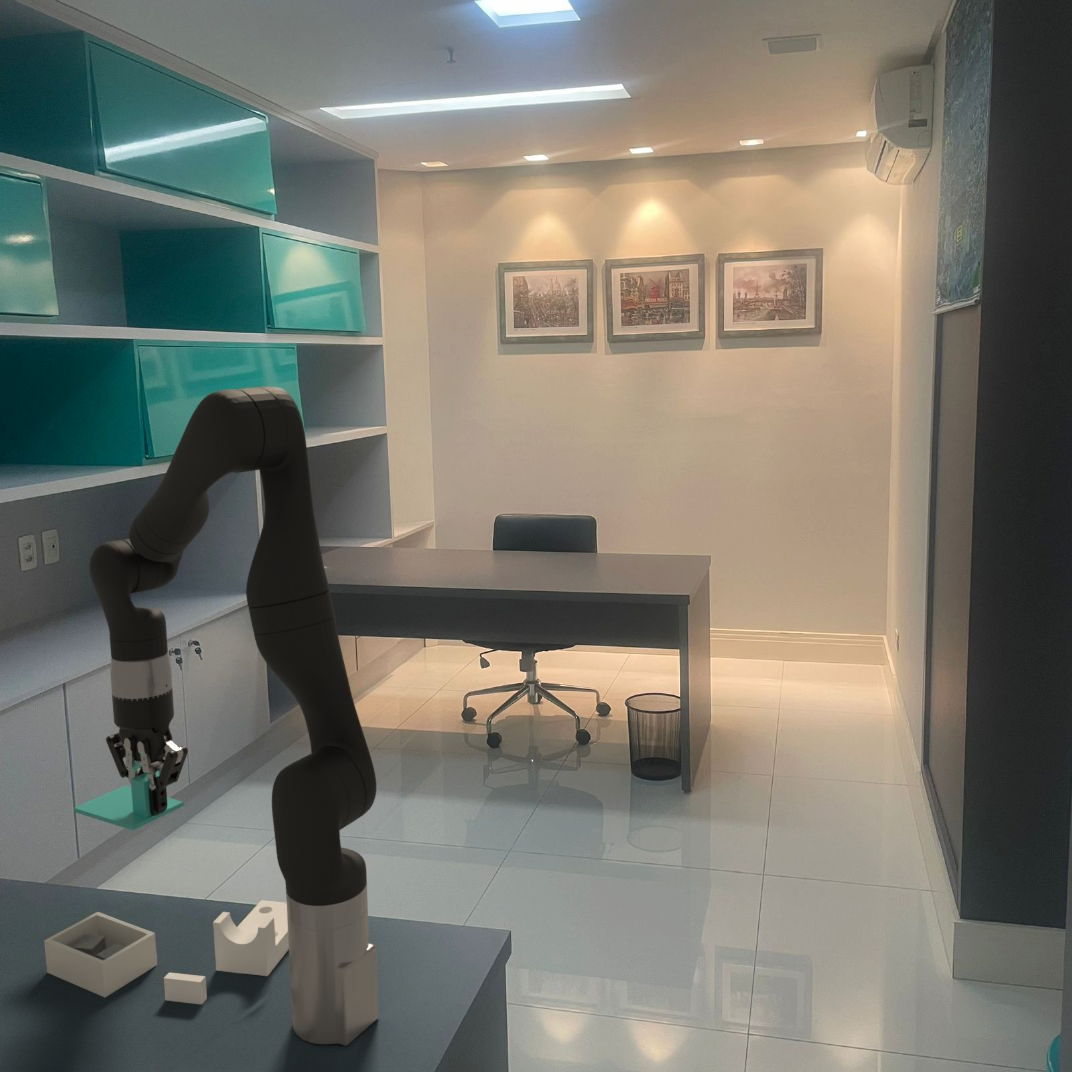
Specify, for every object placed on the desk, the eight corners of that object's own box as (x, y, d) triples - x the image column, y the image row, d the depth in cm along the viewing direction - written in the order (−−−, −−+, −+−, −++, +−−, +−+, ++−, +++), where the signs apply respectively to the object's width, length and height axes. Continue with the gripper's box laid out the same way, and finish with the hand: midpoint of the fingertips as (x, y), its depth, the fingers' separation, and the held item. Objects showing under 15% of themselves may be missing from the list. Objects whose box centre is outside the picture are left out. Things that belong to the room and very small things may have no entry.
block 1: (106, 957, 137) (105, 936, 137) (93, 970, 134) (91, 949, 134) (85, 955, 138) (83, 934, 137) (72, 968, 135) (70, 947, 134)
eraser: (170, 999, 130) (169, 972, 129) (207, 1003, 129) (205, 976, 128) (165, 1005, 128) (163, 977, 128) (202, 1009, 127) (200, 982, 127)
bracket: (268, 983, 133) (264, 928, 132) (216, 976, 135) (213, 922, 133) (310, 928, 146) (307, 877, 144) (262, 923, 147) (259, 873, 146)
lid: (183, 806, 145) (181, 767, 144) (132, 830, 137) (129, 790, 136) (126, 789, 150) (123, 752, 149) (74, 811, 143) (70, 773, 142)
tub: (157, 968, 136) (154, 933, 135) (105, 1001, 129) (102, 964, 128) (100, 946, 141) (97, 911, 140) (47, 976, 134) (44, 940, 133)
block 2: (133, 971, 134) (131, 949, 134) (113, 983, 132) (112, 961, 131) (117, 964, 136) (115, 943, 135) (97, 976, 133) (96, 954, 133)
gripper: (201, 687, 139) (209, 810, 142) (129, 672, 145) (138, 790, 148) (156, 703, 132) (164, 832, 135) (82, 687, 139) (92, 810, 142)
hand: (150, 810), depth 142 cm, fingers closed on lid, 2 cm apart
